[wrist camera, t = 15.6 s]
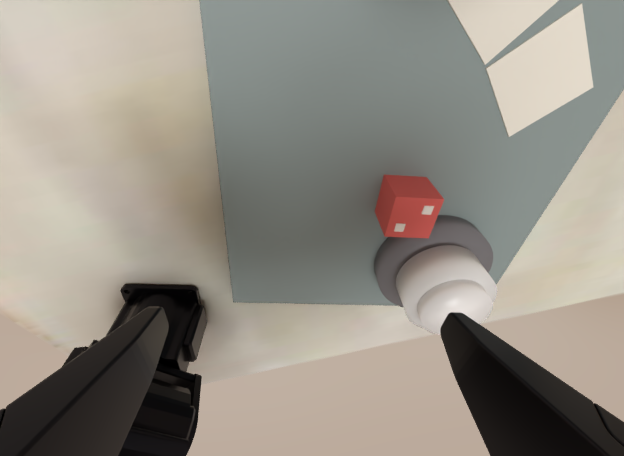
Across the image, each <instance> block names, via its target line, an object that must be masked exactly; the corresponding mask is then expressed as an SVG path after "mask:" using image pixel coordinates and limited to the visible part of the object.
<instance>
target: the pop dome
mask: <svg viewBox="0 0 624 456" xmlns="http://www.w3.org/2000/svg"><path fill="white" fill-rule="evenodd" d="M396 288H397V291H398V293H399V296H400V299H401V301H402V304H403V307H404V310H405V312H406V315H407V317H408V319H409V320H410V321H411V322H412V323H413V324H415V325H416V326H419V327H421V328H425V329H426V330H427V331H429V332H431V333H434V334H439V335H441V333H440V329H441V326H442V324H443V322H444V320H445V319H446V317H447V315H448V314H449V313H451V312H460V313H463V314H465V315H466V316H468V317H469V318H471V319H472V320H474V321H475V322H477V323H478V324H481V323H482V322H483V321H485V320H486V319H487V318H488V316H489V315H490V313H491V311H492V308H493V302H494V300H495V298H496V295H497V286H496V284H495V282H494V280H493V279H492V278H491V276H490V275H489V274H488V272H487V271H486V270H485V268H484V267H483V266H482V264H481V263H480V261H479V260H478V259H477V257H476V256H475V255H474V254H473V253H472V252H471V251H470V250H468V249H466V248H463V247H460V246H454V245H444V246H437V247H433V248H430V249H427V250H424V251H422V252H420V253H418V254H416V255H415V256H413V257H412V258H410V259H409V260H408V261H407V262H406V263H405V264H404V265H403V266H402V267H401V269H400V270H399V272H398V274H397V277H396Z"/></svg>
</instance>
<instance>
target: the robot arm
mask: <svg viewBox="0 0 624 456" xmlns="http://www.w3.org/2000/svg"><path fill="white" fill-rule="evenodd" d="M191 291H192V292H191ZM121 293H122V296H123V298H124V300H125V302H126V303H125V304H124V306H123V308H122V309H121V311H120V313H119V315H118V316H117V318H116V320H115V321H114V323H113V325H112V326H111V328H110V330H109V331H108V333H107V335H106V337H104V338H103V339H101V340H100V341H97V340H93V342H92V343H91V344H90V346H89V347H86V346H85V347H79V348H74V350H73V351H72V352H71V354H70V355H69V357H68V359H67V360H66V362H65V363H64V365H63V366H62V368H60V369H59V370H57V371H56V372H55V373H53V374H52V375H50V376H49V377H47V378H46V379H45V380H43V381H42V382H40V383H39V384H37V385H36V386H35V387H33V388H32V389H30V390H29V391H28V392H26V393H25V394H23V395H22V396H21V397H19V398H18V399H16V400H15V401H13V402H12V403H11V404H9V405H8V406H7V407H6V409H1V410H0V456H186V455H187V453H188V451H189V449H190V446H191V444H192V440H193V438H194V435H195V432H196V428H197V422H198V410H199V400H200V388H201V375H198V374H191V373H188V372H186V371H187V368H188V364H189V362H194V361H195V360H196V359H197V355H198V352H199V348H200V345H201V341H202V338H203V335H204V331H205V328H206V324H207V320H206V315H205V310H204V307H203V305H201V303H200V298H199V293H198V289H197V288H196V287H194V286H168V285H124V286H123V287H122V289H121ZM440 333H441V338H442V340H443V343H444V346H445V349H446V352H447V355H448V358H449V361H450V364H451V367H452V370H453V373H454V376H455V378H456V380H457V382H458V385H459V387H460V390H461V392H462V394H463V396H464V398H465V400H466V403H467V405H468V407H469V409H470V411H471V414H472V416H473V418H474V420H475V423H476V425H477V427H478V429H479V431H480V434H481V436H482V438H483V440H484V442H485V444H486V447H487V449H488V451H489V453H490V456H624V422H623V421H621V420H620V419H618V418H617V417H615V416H614V415H612V414H611V413H609V412H608V411H606V410H605V409H604V408H602V407H601V406H599V405H598V404H595V403H594V404H593V402H592V401H591V400H590V399H588V398H587V397H585V396H584V395H582V394H581V393H579V392H578V391H576V390H575V389H573V388H572V387H571V386H569V385H568V384H566V383H565V382H563V381H562V380H560V379H559V378H557V377H556V376H554V375H553V374H551V373H550V372H549V371H547V370H546V369H544V368H543V367H541V366H540V365H538V364H537V363H535V362H534V361H532V360H531V359H529V358H528V357H526V356H525V355H524V354H522V353H521V352H519V351H518V350H516V349H515V348H513V347H512V346H510V345H509V344H507V343H506V342H505V341H503V340H501V339H500V338H499V337H497V336H496V335H494V334H493V333H491V332H490V331H488V330H487V329H485V328H484V327H482V326H481V325H480V324H478V323H477V322H475V321H474V320H472V319H471V318H469V317H468V316H466V315H465V314H463V313H460V312H451V313H449V314H448V315H447V317H446V319H445V320H444V322H443V324H442V326H441V329H440Z"/></svg>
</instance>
